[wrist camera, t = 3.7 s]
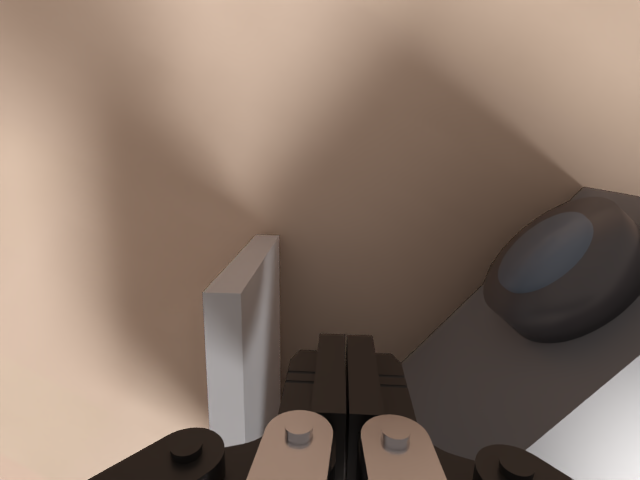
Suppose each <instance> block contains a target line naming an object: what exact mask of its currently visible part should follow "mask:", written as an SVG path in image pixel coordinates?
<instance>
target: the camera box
mask: <svg viewBox="0 0 640 480" xmlns="http://www.w3.org/2000/svg"><path fill="white" fill-rule="evenodd" d="M401 364H402V368H403V371H404V375H405V379H406V383H407V388H408V390H409V394H410V398H411V401H412V405H413V409H414V413H415V416H416V420H417V423H418V424H420V425H421V426H422V427H423V428H424V429H425V430H426V431H427V433H428V435H429V437H430V439H431V441H432V444H433V445H434V446H436V447H438V448H439V449H441V450H443V451H446V452H448V453H451V454H454V455H457V456H460V457H464V458H467V459H470V460H474V461H475V458H476V455H477V453H478V452H479V451H480V450H481V449H482V448H484V447H486V446H489V445H495V444H503V445H510V446H514V447H518V448H521V449H523V450H526V451H528V452H530V453H532V454H533V455H535V456H537V457H538V458H540V459H542V460H543V461H545V462H546V463H548V464H550V465H551V466H553V467H554V468H556V469H558V470H559V471H561V472H562V473H564V474H566V475H567V476H569V477H570V478H572V479H574V480H640V197H639V196H633V195H628V194H622V193H616V192H610V191H605V190H599V189H593V188H587V187H583V188H582V189H581V190H580V191H579V192H578V193H577V194H576V195H575V196H574V197H573V198H572V199H571V200H570V201H569V202H567V203H565V204H562V205H560V206H558V207H556V208H554V209H552V210H550V211H548V212H546V213H545V214H543V215H541V216H540V217H538V218H537V219H535V220H534V221H532V222H531V223H530V224H528V225H527V226H526V227H524V228H523V229H522V230H521V231H520V232H519V233H517V234H516V235H515V236H514V237H513V238H512V239H511V240H510V241H509V242H508V243H507V244H506V246H505V247H504V248H503V249H502V250H501V252H500V253H499V254H498V256H497V257H496V259H495V260H494V262H493V263H492V265H491V267H490V269H489V271H488V273H487V275H486V278H485V281H484V284H483V285H482V286H481V287H480V288H479V289H478V290H477V291H476V292H475V293H474V294H473V295H472V296H470V297H469V298H468V299H467V300H466V301H465V302H464V303H463V304H462V305H461V306H460V307H459V308H458V309H457V310H456V311H455V312H454V313H453V314H452V315H451V316H450V317H449V318H448V319H447V320H446V321H445V322H444V323H443V324H442V325H440V326H439V327H438V328H437V329H436V330H435V331H434V332H433V333H432V334H431V335H430V336H429V337H428V338H427V339H426V340H425V341H424V342H423V343H422V344H421V345H420V346H419V347H418V348H417V349H416V350H415V351H414V352H413V353H411V354H410V355H409V356H408V357H407V358H406V359H405V360H404V361H403V362H402V363H401ZM344 480H345V457H344Z"/></svg>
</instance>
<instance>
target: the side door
mask: <svg viewBox="0 0 640 480" xmlns="http://www.w3.org/2000/svg"><path fill="white" fill-rule="evenodd" d="M202 293H203V312H204V332H205V351H206V371H207V390H208V410H209V429H210V430H212V431H214V432H216V433H217V434H218V435H220V436H221V438H222V439H223V442H224V447H229V446H234V445H239V444H244V443H248V442H251V441H254V440H256V439H258V438H260V437H262V436H263V434H264V431H265V429H266V427H267V425H268V423H269V422H270V421H271V420H272V419H273V418H275V417H276V416H278V412H279V408H280V403H281V393H280V242H279V235H255V236H254V237H253V238H252V239H251V241H250V242H249V243H248V244H247V245H246V246H245V247H244V248H243V249H242V250H241V251H240V252H239V254H238V255H237V256H236V257H235V258H234V259H233V260H232V261H231V262H230V263H229V264H228V265H227V266H226V268H225V269H224V270H223V271H222V272H221V273H220V274H219V275H218V276H217V277H216V278H215V279H214V280H213V282H212V283H211V284H210V285H209V286H208V287H207V288H206V289H205V290H204V291H203V292H202Z"/></svg>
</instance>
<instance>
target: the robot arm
mask: <svg viewBox="0 0 640 480" xmlns="http://www.w3.org/2000/svg"><path fill="white" fill-rule="evenodd" d="M344 457H345V480H574V479H572V478H570V477H569V476H567V475H566V474H564V473H562V472H561V471H559V470H558V469H556V468H554V467H553V466H551V465H550V464H548V463H546V462H545V461H543V460H542V459H540V458H538V457H537V456H535V455H533V454H532V453H530V452H528V451H526V450H523V449H521V448H518V447H514V446H510V445H503V444H495V445H489V446H486V447H484V448H482V449H481V450H480V451H479V452H478V453H477V455H476V458H475V461H474V460H470V459H467V458H464V457H460V456H457V455H454V454H451V453H448V452H446V451H443V450H441V449H439V448H438V447H436V446H434V445H433V444H432V441H431V439H430V437H429V435H428V433H427V431H426V430H425V429H424V428H423V427H422V426H421V425H420V424H418V423H417V420H416V416H415V413H414V409H413V405H412V401H411V398H410V394H409V390H408V388H407V383H406V379H405V375H404V371H403V368H402V364H401V363H400V362H399V361H398V360H397V359H396V358H395V357H394V356H393V355H392V354H383V353H375V348H374V342H373V336H372V335H347V342H346V368H345V334H321V333H320V335H319V344H318V351H311V350H300V351H299V352H298V353H297V354H296V355H295V356H294V357H293V358H292V359H291V360H290V364H289V369H288V373H287V377H286V382H285V386H284V390H283V395H282V399H281V403H280V408H279V412H278V416H276V417H275V418H273V419H272V420H271V421H270V422H269V423H268V425H267V427H266V429H265V431H264V434H263V436H262V437H260V438H258V439H256V440H254V441H251V442H248V443H244V444H239V445H234V446H229V447H224V442H223V439H222V438H221V436H220V435H218V434H217V433H216V432H214V431H212V430H209V429H205V428H187V429H183V430H179V431H176V432H174V433H171V434H169V435H167V436H166V437H164V438H162V439H160V440H158V441H157V442H155V443H153V444H151V445H149V446H148V447H146V448H144V449H142V450H140V451H139V452H137V453H135V454H133V455H131V456H130V457H128V458H126V459H124V460H122V461H121V462H119V463H117V464H115V465H113V466H112V467H110V468H108V469H106V470H104V471H103V472H101V473H99V474H97V475H95V476H94V477H92V478H90V479H88V480H344Z"/></svg>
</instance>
